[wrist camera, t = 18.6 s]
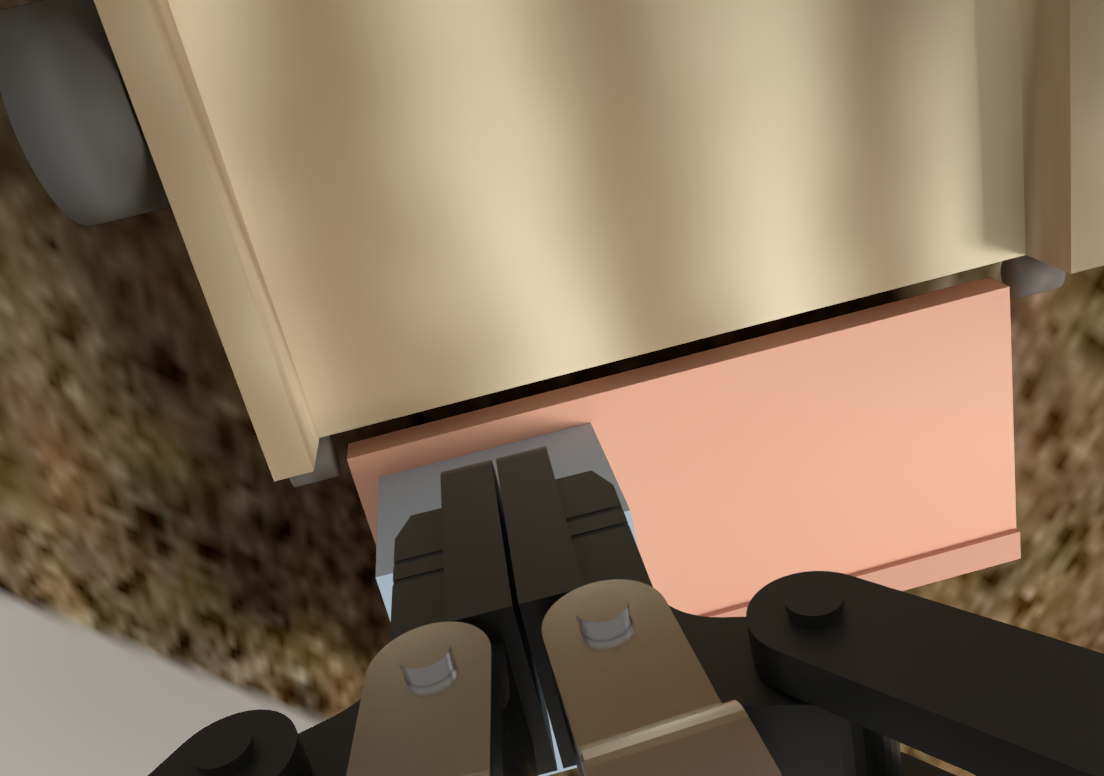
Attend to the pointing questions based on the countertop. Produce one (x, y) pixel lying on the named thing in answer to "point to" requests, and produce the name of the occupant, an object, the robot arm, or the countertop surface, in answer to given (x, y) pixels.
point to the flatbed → (554, 173)
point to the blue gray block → (567, 457)
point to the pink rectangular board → (788, 450)
